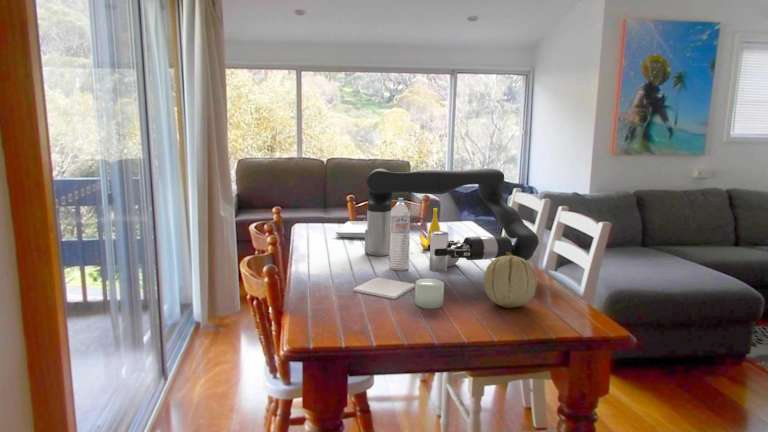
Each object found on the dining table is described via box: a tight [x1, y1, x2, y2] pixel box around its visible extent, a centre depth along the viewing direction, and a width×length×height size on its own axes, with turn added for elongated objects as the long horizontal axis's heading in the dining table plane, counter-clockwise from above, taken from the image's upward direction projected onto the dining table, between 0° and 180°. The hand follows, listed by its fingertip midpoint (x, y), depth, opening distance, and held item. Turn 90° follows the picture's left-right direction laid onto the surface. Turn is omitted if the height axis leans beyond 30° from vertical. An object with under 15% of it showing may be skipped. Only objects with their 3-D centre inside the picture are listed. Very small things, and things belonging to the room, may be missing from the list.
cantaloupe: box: [483, 252, 538, 309], centre depth 143 cm, size 15×15×15 cm
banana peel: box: [419, 207, 460, 250], centre depth 213 cm, size 17×19×17 cm
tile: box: [353, 276, 416, 300], centre depth 157 cm, size 14×14×1 cm
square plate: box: [335, 220, 367, 239], centre depth 239 cm, size 27×27×4 cm
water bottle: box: [389, 197, 411, 272], centre depth 178 cm, size 7×7×25 cm
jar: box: [414, 277, 445, 309], centre depth 144 cm, size 8×8×6 cm
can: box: [428, 230, 449, 274], centre depth 162 cm, size 6×6×12 cm
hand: (431, 250), depth 161 cm, fingers closed on can, 5 cm apart
